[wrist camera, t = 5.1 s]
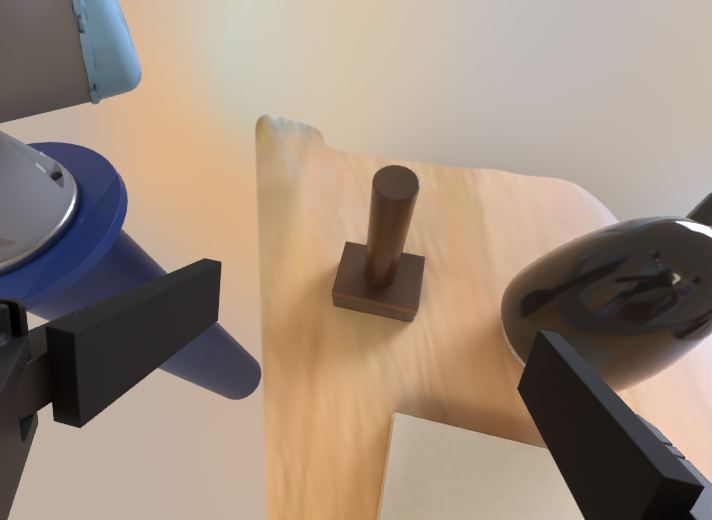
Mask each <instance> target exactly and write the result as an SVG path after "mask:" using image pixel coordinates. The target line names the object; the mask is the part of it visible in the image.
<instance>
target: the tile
mask: <svg viewBox="0 0 712 520" xmlns="http://www.w3.org/2000/svg"><path fill="white" fill-rule="evenodd" d="M376 520H585V519H584V517H583V515H582V513H581V511H580V510H579V508H578V506H577V504H576V502H575V500H574V498H573V496H572V494H571V492H570V490H569V488H568V486H567V484H566V482H565V480H564V479H563V477H562V475H561V473H560V471H559V469H558V467H557V465H556V463H555V461H554V459H553V457H552V455H551V453H550V451H549V449H546V448H542V447H538V446H534V445H530V444H526V443H522V442H517V441H513V440H509V439H505V438H501V437H497V436H492V435H488V434H484V433H480V432H476V431H472V430H468V429H463V428H459V427H455V426H451V425H447V424H443V423H439V422H434V421H430V420H426V419H422V418H418V417H414V416H410V415H405V414H401V413H397V412H395V413H394V414H392V418H391V424H390V431H389V437H388V444H387V450H386V457H385V463H384V470H383V476H382V483H381V489H380V496H379V502H378V509H377V515H376Z"/></svg>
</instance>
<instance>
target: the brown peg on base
mask: <svg viewBox="0 0 712 520" xmlns="http://www.w3.org/2000/svg"><path fill="white" fill-rule="evenodd" d="M419 188H420V182H419V179H418V177H417V175H416V174H415V173H414V172H413V171H412V170H410V169H408V168H406V167H403V166H398V165H391V166H386V167H383V168H382V169H380V170H379V171H378V172H377V173H376V174H375V175H374V177H373V182H372V194H371V205H370V216H369V228H368V239H367V245H362V244H357V243H352V242H346V243H345V247H344V251H343V254H342V258H341V261H340V265H339V268H338V272H337V276H336V279H335V283H334V286H333V290H332V296H333V305H334V306H337V307H342V308H346V309H351V310H356V311H360V312H365V313H369V314H374V315H379V316H383V317H388V318H393V319H397V320H402V321H407V322H412V321H413V319H414V317H415V315H416V313H417V311H418V307H419V299H420V292H421V285H422V278H423V270H424V263H425V257H423V256H417V255H412V254H407V253H402V251H403V248H404V244H405V240H406V236H407V233H408V229H409V225H410V222H411V218H412V214H413V210H414V207H415V203H416V199H417V196H418V192H419Z"/></svg>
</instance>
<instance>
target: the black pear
mask: <svg viewBox="0 0 712 520" xmlns="http://www.w3.org/2000/svg"><path fill="white" fill-rule="evenodd" d="M501 326H502V331H503V335H504V338H505V341H506V343H507V345H508V347H509V349H510V351H511V352H512V354H513V355H514V357H515V358H516V359H517V361H518V362H519V363H520V364H521V365H522V366H523V367H524V368H525V366H526V363H527V360H528V357H529V354H530V351H531V349H532V346H533V343H534V340H535V337H536V334H537V332H538V329H540V330H545V331H550V332H555V333H559V334H560V335H561V336H562V337H563V338H564V339H565V341H566V342H567V343H568V344H569V345H570V346H571V347H572V348H573V349H574V350H575V351H576V352H577V353H578V354H579V355H580V356H581V357H582V358H583V359H584V361H585V362H586V363H587V364H588V365H589V366H590V367H591V368H592V369H593V370H594V371H595V372H596V373H597V374H598V375H599V376H600V377H601V378H602V379H603V380H604V382H605V383H606V384H607V385H608V386H609V387H610V388H611V389H612V390H613V391H614V392H615V393H616V392H620V391H623V390H625V389H628V388H630V387H633V386H635V385H637V384H639V383H641V382H643V381H645V380H647V379H649V378H651V377H653V376H655V375H657V374H658V373H660V372H662V371H663V370H665V369H667V368H668V367H670V366H671V365H673V364H674V363H675V362H677V361H678V360H680V359H681V358H682V357H684V356H685V355H686V354H688V353H689V352H690V351H691V350H693V349H694V348H695V347H696V346H698V345H699V344H700V343H701V342H702V341H703V340H705V339H706V338H707V337H708V336H709V335H710V334H711V333H712V193H710V194H709V195H707V196H706V197H705V198H704V199H703V200H702V201H701V202H700V203H699V204H698V205H697V206H696V207H695V208H694V209H693V210H692V211H691V212H690V213H689V214H688V215H687V216H686V217H685V218H684V217H676V216H658V217H657V216H656V217H647V218H640V219H635V220H629V221H625V222H621V223H617V224H614V225H610V226H607V227H604V228H601V229H598V230H596V231H593V232H591V233H588V234H586V235H583V236H581V237H579V238H576V239H574V240H572V241H570V242H567V243H565V244H563V245H561V246H559V247H557V248H555V249H554V250H552V251H550V252H548V253H547V254H545V255H543V256H542V257H540V258H538V259H537V260H535V261H534V262H532V263H531V264H529V265H528V266H527V267H525V268H524V269H523V270H521V271H520V272H519V273H518V274H517V275H516V276H515V277H514V278H513V279H512V280H511V282H510V283H509V285H508V286H507V288H506V290H505V292H504V295H503V298H502V304H501Z"/></svg>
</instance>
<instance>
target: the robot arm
mask: <svg viewBox="0 0 712 520" xmlns="http://www.w3.org/2000/svg"><path fill="white" fill-rule="evenodd" d="M140 80H141V66H140V62H139V59H138V55H137V52H136V49H135V46H134V43H133V40H132V37H131V34H130V31H129V28H128V26H127V23H126V20H125V17H124V15H123V12H122V9H121V6H120V3H119V1H118V0H0V123H3V122H7V121H12V120H16V119H20V118H24V117H28V116H33V115H37V114H41V113H45V112H49V111H53V110H58V109H62V108H66V107H71V106H75V105H79V104H83V103H87V102H92V103H93V104H98V103H99V102H100V100H101V99H105V98H108V97H112V96H115V95H119V94H122V93H126V92H129V91H131V90H133V89H135V88H136V87H137V86H138V84H139V83H140ZM82 203H83V192H82V188H81V186H80V184H79V182H78V180H77V179H76V178H75V177H74V176H73V175H72V174H71V173H70V172H69V171H68V170H67V169H66V168H65V167H64V166H63V165H61V164H60V163H58V162H57V161H55V160H54V159H52V158H51V157H49V156H47V155H45V154H43V153H42V152H39V151H37V150H36V149H34V148H32V147H30V146H28V145H26V144H24V143H22V142H21V141H19V140H17V139H15V138H13V137H11V136H9V135H7V134H5V133H4V132H2V131H0V276H3V275H6V274H9V273H11V272H14V271H16V270H18V269H20V268H23V267H24V266H26V265H28V264H30V263H32V262H34V261H35V260H37V259H38V258H40V257H41V256H43V255H44V254H46V253H47V252H48V251H50V250H51V249H52V248H53V247H54V246H56V245H57V244H58V243H59V242H60V241H61V240H62V239H63V238H64V237H65V236H66V234H67V233H68V232H69V231H70V229H71V228H72V227H73V225H74V223H75V222H76V220H77V218H78V216H79V214H80V211H81V208H82ZM220 278H221V262H220V261H215V260H210V259H206V258H205V259H202V260H200V261H197V262H195V263H192V264H190V265H188V266H185V267H183V268H181V269H178V270H176V271H174V272H171V273H169V274H167V275H164V276H162V277H160V278H157V279H155V280H152V281H150V282H148V283H145V284H143V285H141V286H138V287H136V288H134V289H131V290H129V291H127V292H124V293H122V294H120V295H117V296H115V297H113V298H110V299H106V300H102V301H98V302H96V303H93V304H91V305H89V306H86V307H84V309H79V310H77V311H74V312H72V313H71V315H69V314H67V315H65V316H62V317H60V318H58V319H55V320H53V321H50V322H48V323H46V324H43V325H41V326H39V327H36V328H34V329H31V330H29V331H28V324H27V314H26V304H25V302H23V301H22V300H20V299H14V298H0V520H7V519H8V516H9V513H10V509H11V506H12V503H13V500H14V497H15V494H16V491H17V488H18V485H19V482H20V478H21V475H22V472H23V469H24V466H25V463H26V460H27V457H28V453H29V450H30V447H31V444H32V441H33V438H34V435H35V432H36V429H37V425H38V415H37V411H38V410H40V409H42V408H43V407H45V406H46V405H48V404H49V403H51V402H52V406H53V417H54V421H56V422H59V423H64V424H67V425H70V426H74V427H78V428H81V427H82V426H84V425H85V424H86V423H87V422H89V421H90V420H91V419H93V418H94V417H95V416H96V415H98V414H99V413H100V412H102V411H103V410H104V409H105V408H107V407H108V406H109V405H110V404H112V403H113V402H114V401H115V400H116V399H118V398H119V397H121V396H122V395H123V394H125V393H126V392H127V391H128V390H130V388H132V387H133V386H135V385H136V384H137V383H139V382H140V381H141V380H142V379H144V378H145V377H146V376H147V375H149V374H150V373H151V372H152V371H154V370H155V369H156V368H158V367H159V366H160V365H161V364H163V363H164V362H165V361H167V360H168V359H169V358H170V357H172V356H173V355H174V354H175V353H177V352H178V351H179V350H181V349H182V348H183V347H184V346H186V345H187V344H188V343H189V342H191V341H192V340H193V339H195V338H196V337H197V336H198V335H200V334H201V333H202V332H204V331H205V330H206V329H207V328H209V327H210V326H211V325H212V324H214V323H215V322H216V321H218V309H219V294H220ZM517 389H518V391H519V393H520V395H521V397H522V399H523V401H524V403H525V405H526V407H527V409H528V411H529V413H530V415H531V416H532V418H533V420H534V422H535V424H536V426H537V428H538V430H539V432H540V434H541V436H542V438H543V440H544V442H545V444H546V446H547V447H548V449H549V451H550V453H551V455H552V457H553V459H554V461H555V463H556V465H557V467H558V469H559V471H560V473H561V475H562V477H563V479H564V480H565V482H566V484H567V486H568V488H569V490H570V492H571V494H572V496H573V498H574V500H575V502H576V504H577V506H578V508H579V510H580V511H581V513H582V515H583V517H584V519H585V520H712V484H711V483H710V482H709V481H708V480H707V479H706V478H705V477H704V476H703V475H702V474H701V473H700V472H699V471H698V470H697V469H696V468H695V467H694V466H693V465H692V464H691V463H690V462H689V461H688V460H685V456H684V455H683V454H682V453H681V452H680V451H679V450H678V449H677V448H676V447H673V446H672V443H671V442H670V441H669V440H668V439H667V438H666V437H665V436H664V435H663V434H662V433H661V432H660V431H659V430H658V429H657V428H655V427H654V426H653V425H651V424H650V423H649V422H647V421H646V420H644V419H643V418H642V417H640V416H639V415H637V414H635V413H634V412H633V411H632V410H631V409H630V408H629V407H628V406H627V405H626V404H625V403H624V401H623V400H622V399H621V398H620V397H619V396H618V395H617V394H616V393H615V392H614V391H613V390H612V389H611V388H610V387H609V386H608V385H607V384H606V383H605V382H604V380H603V379H602V378H601V377H600V376H599V375H598V374H597V373H596V372H595V371H594V370H593V369H592V368H591V367H590V366H589V365H588V364H587V363H586V362H585V361H584V359H583V358H582V357H581V356H580V355H579V354H578V353H577V352H576V351H575V350H574V349H573V348H572V347H571V346H570V345H569V344H568V343H567V342H566V341H565V339H564V338H563V337H562V336H561V335H560V334H559V333H555V332H550V331H545V330H540V329H538V332H537V334H536V337H535V340H534V343H533V346H532V349H531V351H530V354H529V357H528V360H527V363H526V366H525V368H524V371H523V374H522V377H521V380H520V383H519V386H518V388H517Z"/></svg>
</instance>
